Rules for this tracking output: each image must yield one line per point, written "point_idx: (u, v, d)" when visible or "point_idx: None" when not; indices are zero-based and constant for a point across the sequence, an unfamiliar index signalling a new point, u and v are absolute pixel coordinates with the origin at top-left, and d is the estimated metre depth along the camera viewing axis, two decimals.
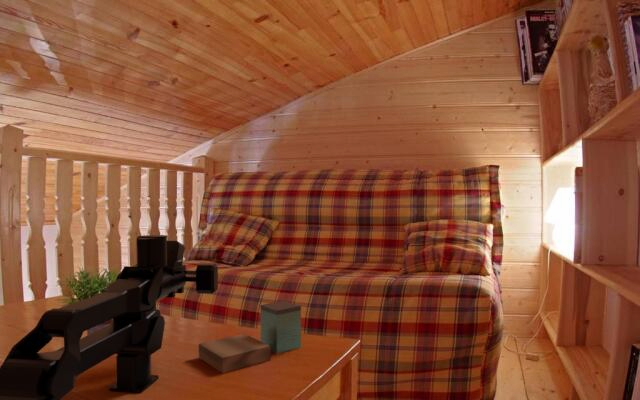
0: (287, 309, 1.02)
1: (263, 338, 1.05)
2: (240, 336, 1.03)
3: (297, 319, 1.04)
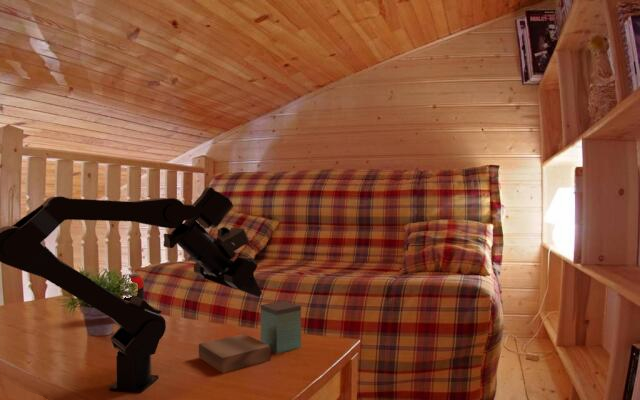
0: (287, 309, 1.02)
1: (263, 338, 1.05)
2: (240, 336, 1.03)
3: (297, 319, 1.04)
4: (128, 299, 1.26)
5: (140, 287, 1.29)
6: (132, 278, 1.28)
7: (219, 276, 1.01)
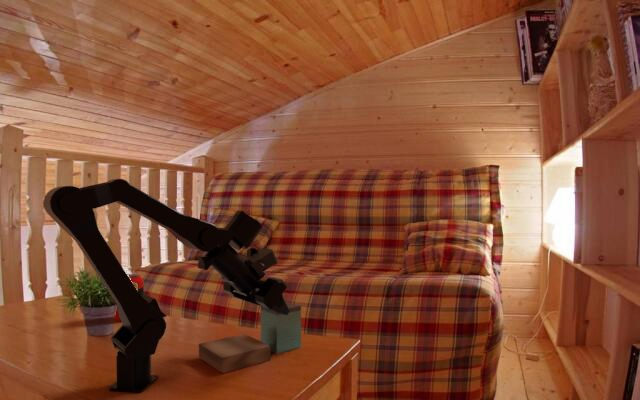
0: None
1: (263, 338, 1.05)
2: (240, 336, 1.03)
3: (297, 319, 1.04)
4: None
5: (140, 287, 1.29)
6: (132, 278, 1.28)
7: (248, 294, 1.05)
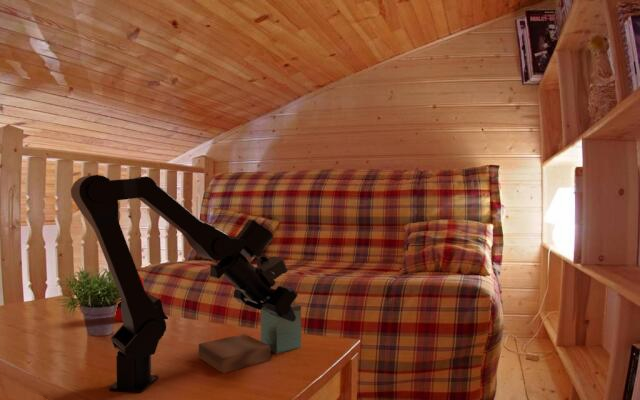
0: None
1: (263, 338, 1.05)
2: (240, 336, 1.03)
3: (297, 319, 1.04)
4: None
5: None
6: None
7: (260, 303, 1.06)
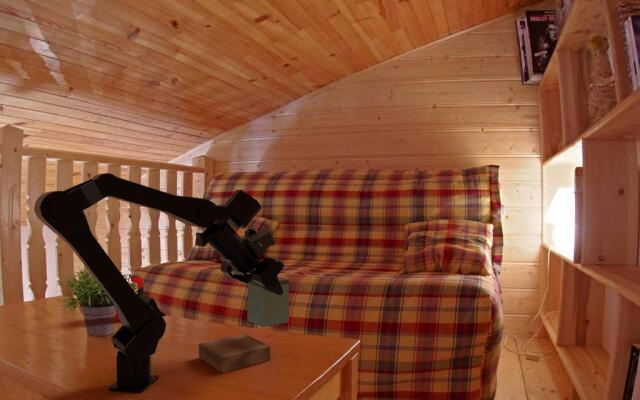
0: None
1: (250, 312, 1.02)
2: (240, 336, 1.03)
3: (285, 293, 1.02)
4: None
5: (140, 287, 1.29)
6: (132, 278, 1.28)
7: (247, 276, 1.04)
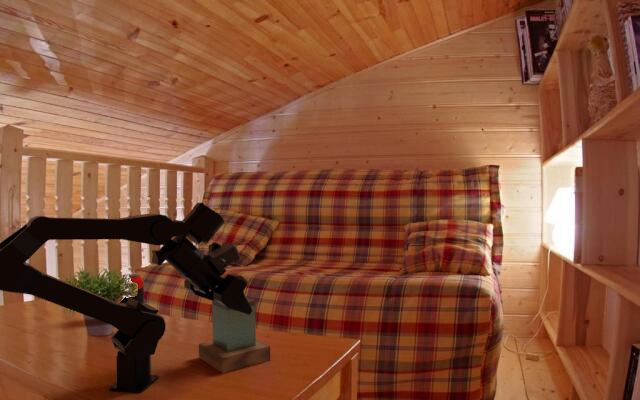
0: None
1: (215, 336, 0.97)
2: None
3: (251, 315, 0.96)
4: None
5: (140, 287, 1.29)
6: (132, 278, 1.28)
7: (210, 292, 0.99)
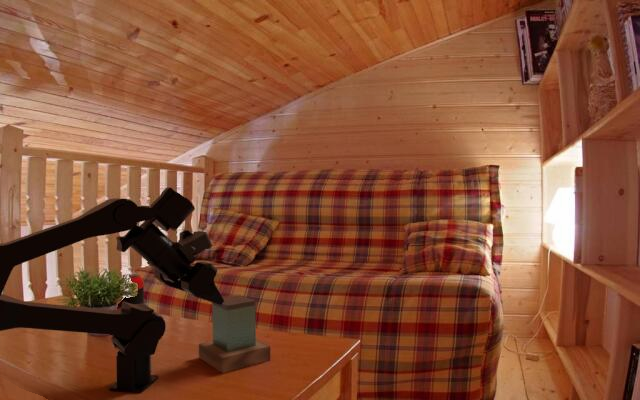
0: (239, 304, 0.94)
1: (215, 336, 0.97)
2: None
3: (251, 315, 0.96)
4: (128, 299, 1.26)
5: (140, 287, 1.29)
6: (132, 278, 1.28)
7: (181, 282, 0.95)
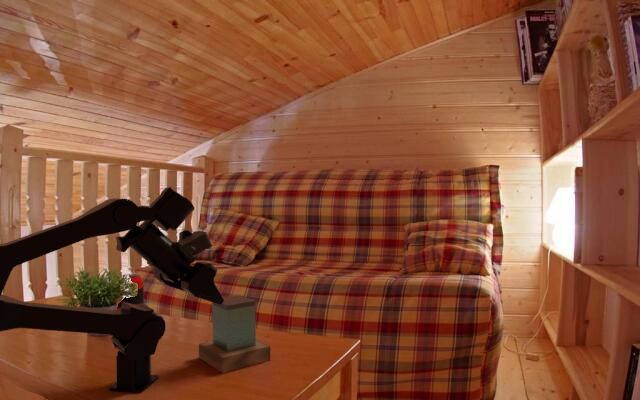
0: (239, 304, 0.94)
1: (215, 336, 0.97)
2: None
3: (251, 315, 0.96)
4: (128, 299, 1.26)
5: (140, 287, 1.29)
6: (132, 278, 1.28)
7: (181, 282, 0.95)
